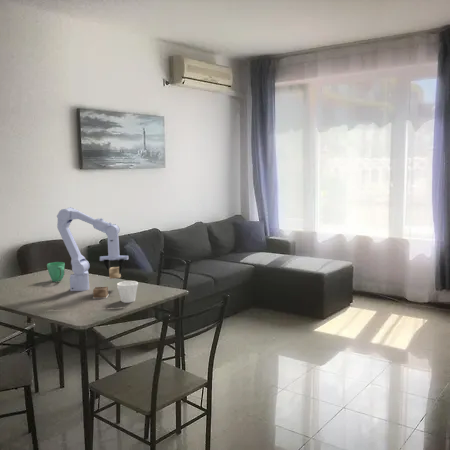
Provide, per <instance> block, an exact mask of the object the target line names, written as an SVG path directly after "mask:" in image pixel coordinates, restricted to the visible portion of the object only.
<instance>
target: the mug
mask: <svg viewBox="0 0 450 450" xmlns="http://www.w3.org/2000/svg"><path fill="white" fill-rule="evenodd" d="M65 265H66V264H65V262H63V261H54V262H49V263H47V264H46V267H47V271H48V274H49V277H50V280H51V281H52V282H55V283H57V282H61V281H62V280H63V278H64V276H65Z"/></svg>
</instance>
